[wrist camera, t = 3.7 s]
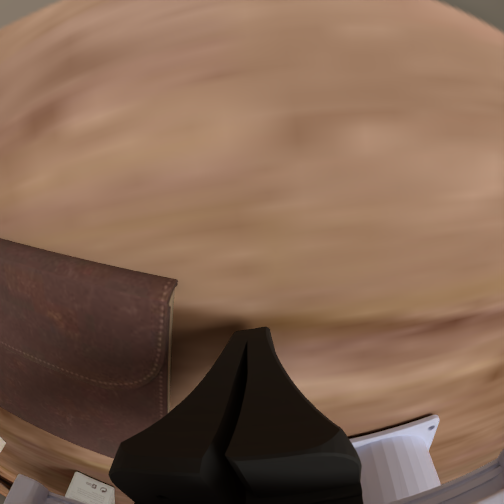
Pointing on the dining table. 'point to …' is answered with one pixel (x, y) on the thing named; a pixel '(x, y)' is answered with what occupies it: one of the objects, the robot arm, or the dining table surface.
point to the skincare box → (90, 490)
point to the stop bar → (2, 444)
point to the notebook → (83, 346)
